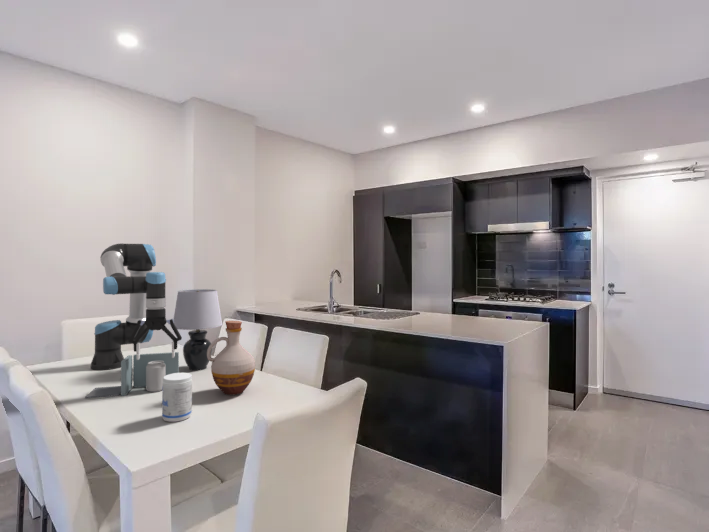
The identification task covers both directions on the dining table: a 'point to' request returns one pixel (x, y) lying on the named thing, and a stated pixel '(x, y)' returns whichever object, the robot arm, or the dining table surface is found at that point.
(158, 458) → the dining table surface
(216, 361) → the jug
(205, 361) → the lamp
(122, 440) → the dining table surface
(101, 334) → the robot arm
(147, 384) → the can
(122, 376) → the screen
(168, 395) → the supplement tub
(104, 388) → the coaster
